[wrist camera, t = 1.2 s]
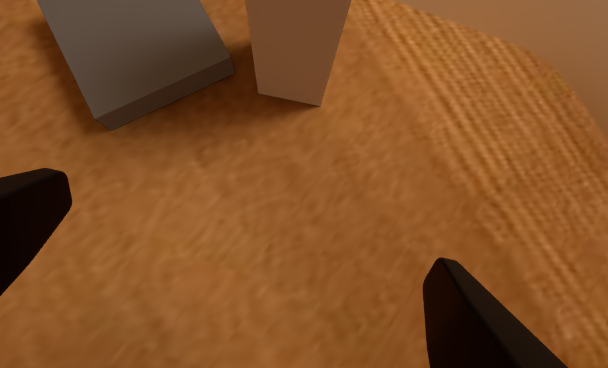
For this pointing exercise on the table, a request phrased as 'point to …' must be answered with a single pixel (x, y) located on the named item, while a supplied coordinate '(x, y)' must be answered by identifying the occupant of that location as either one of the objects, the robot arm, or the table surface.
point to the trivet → (136, 53)
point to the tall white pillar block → (295, 45)
